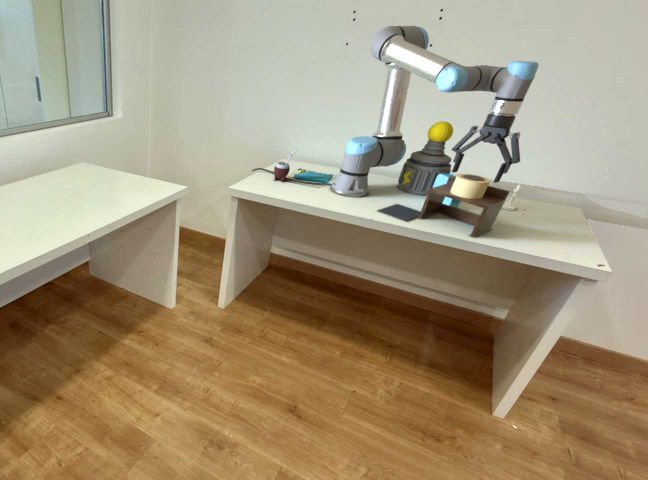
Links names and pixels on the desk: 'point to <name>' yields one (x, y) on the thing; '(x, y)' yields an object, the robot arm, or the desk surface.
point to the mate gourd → (282, 169)
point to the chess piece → (511, 200)
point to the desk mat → (401, 212)
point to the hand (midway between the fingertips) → (474, 176)
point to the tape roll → (470, 186)
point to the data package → (442, 180)
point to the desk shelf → (488, 202)
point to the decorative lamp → (427, 161)
